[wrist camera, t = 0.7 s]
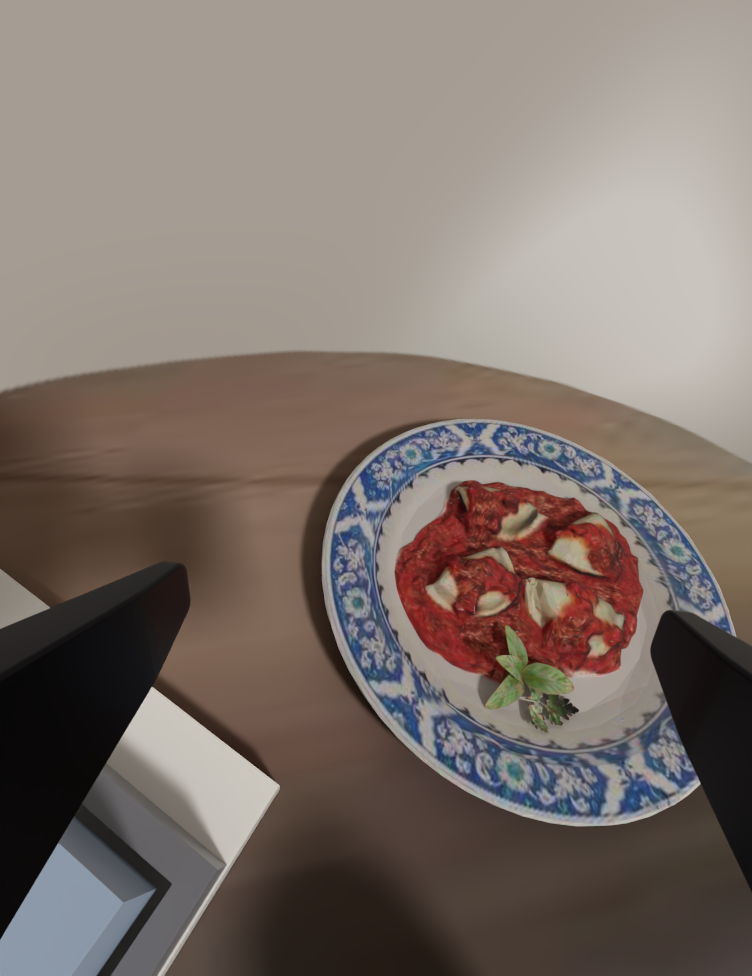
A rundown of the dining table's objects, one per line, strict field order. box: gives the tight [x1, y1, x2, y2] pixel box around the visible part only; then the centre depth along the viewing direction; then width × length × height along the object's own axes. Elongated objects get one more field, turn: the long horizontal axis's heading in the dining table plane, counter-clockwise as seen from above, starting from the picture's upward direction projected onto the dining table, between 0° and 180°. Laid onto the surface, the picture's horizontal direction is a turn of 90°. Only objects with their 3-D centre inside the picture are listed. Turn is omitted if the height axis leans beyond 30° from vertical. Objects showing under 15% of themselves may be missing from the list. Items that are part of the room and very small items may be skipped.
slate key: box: [0, 816, 157, 976], centre depth 13 cm, size 5×5×4 cm
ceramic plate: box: [322, 419, 736, 826], centre depth 29 cm, size 26×26×3 cm
